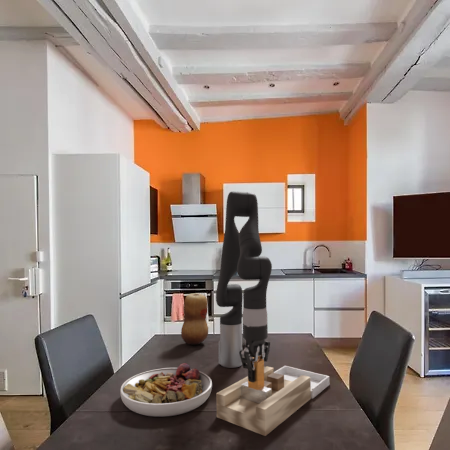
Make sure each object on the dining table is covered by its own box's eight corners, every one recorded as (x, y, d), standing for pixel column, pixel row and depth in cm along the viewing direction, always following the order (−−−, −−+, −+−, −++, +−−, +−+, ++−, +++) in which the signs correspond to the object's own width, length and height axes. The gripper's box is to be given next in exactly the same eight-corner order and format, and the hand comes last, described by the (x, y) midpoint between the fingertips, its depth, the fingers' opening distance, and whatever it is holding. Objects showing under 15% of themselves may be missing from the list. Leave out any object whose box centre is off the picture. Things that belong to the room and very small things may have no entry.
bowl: (187, 429, 102) (187, 400, 102) (100, 412, 112) (100, 386, 112) (224, 387, 130) (224, 364, 130) (152, 376, 140) (152, 356, 140)
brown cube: (267, 388, 118) (267, 376, 118) (273, 384, 121) (273, 372, 121) (277, 391, 115) (277, 379, 115) (284, 387, 118) (283, 375, 119)
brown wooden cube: (254, 396, 112) (253, 383, 112) (261, 392, 115) (260, 379, 115) (265, 400, 109) (264, 387, 109) (272, 395, 112) (271, 382, 113)
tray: (265, 385, 130) (265, 376, 130) (285, 373, 141) (284, 365, 141) (312, 398, 119) (312, 389, 119) (329, 384, 130) (329, 376, 130)
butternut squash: (197, 349, 172) (196, 296, 173) (175, 345, 179) (175, 294, 180) (214, 342, 183) (213, 292, 184) (193, 338, 191) (192, 291, 192)
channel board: (216, 417, 108) (216, 393, 108) (266, 385, 130) (266, 366, 130) (265, 436, 97) (264, 409, 97) (310, 398, 119) (310, 377, 119)
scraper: (240, 398, 111) (240, 358, 111) (247, 394, 114) (247, 355, 114) (265, 406, 105) (265, 364, 106) (272, 402, 108) (271, 361, 108)
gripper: (257, 316, 118) (258, 369, 118) (231, 325, 107) (231, 384, 107) (277, 319, 113) (278, 375, 113) (252, 328, 102) (252, 390, 102)
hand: (255, 379), depth 110 cm, fingers closed on scraper, 3 cm apart
